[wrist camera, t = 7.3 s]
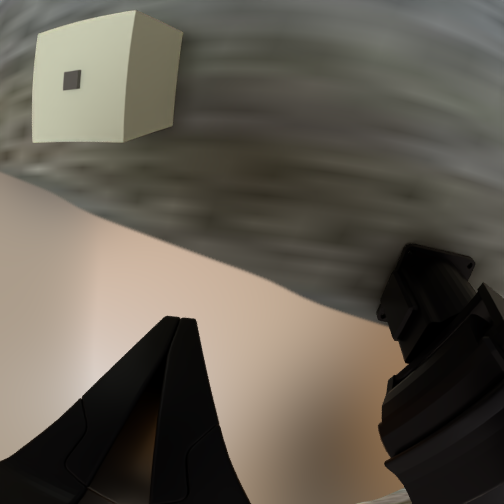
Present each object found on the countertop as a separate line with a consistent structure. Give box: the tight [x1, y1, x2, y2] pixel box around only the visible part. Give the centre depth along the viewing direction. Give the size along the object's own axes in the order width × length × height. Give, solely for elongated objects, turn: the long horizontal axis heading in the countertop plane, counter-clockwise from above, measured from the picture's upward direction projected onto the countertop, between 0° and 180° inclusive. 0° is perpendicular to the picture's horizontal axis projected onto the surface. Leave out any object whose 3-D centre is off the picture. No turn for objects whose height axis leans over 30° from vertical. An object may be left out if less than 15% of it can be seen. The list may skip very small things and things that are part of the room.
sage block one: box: [32, 10, 183, 143], centre depth 12 cm, size 6×6×6 cm
